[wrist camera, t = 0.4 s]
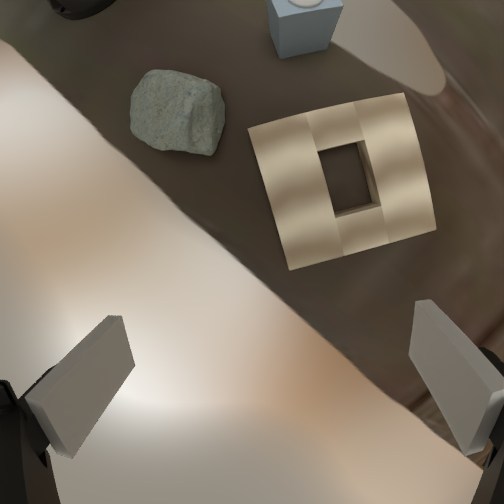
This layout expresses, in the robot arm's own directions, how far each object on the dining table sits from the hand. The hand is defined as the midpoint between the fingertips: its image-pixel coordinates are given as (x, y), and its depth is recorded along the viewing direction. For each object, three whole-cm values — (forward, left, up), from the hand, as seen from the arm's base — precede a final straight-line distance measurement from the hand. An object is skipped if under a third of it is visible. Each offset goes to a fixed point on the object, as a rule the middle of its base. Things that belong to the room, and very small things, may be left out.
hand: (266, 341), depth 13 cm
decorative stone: (-17, -7, -27) cm, 32 cm away
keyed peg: (-22, +9, -27) cm, 36 cm away
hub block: (-4, +9, -27) cm, 28 cm away
